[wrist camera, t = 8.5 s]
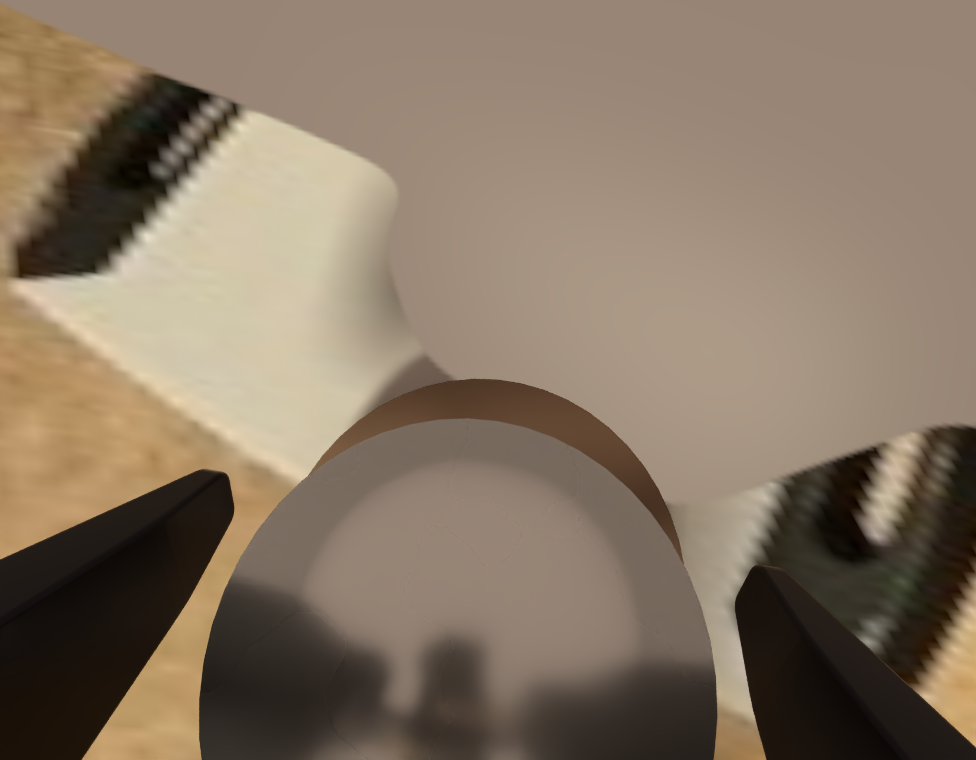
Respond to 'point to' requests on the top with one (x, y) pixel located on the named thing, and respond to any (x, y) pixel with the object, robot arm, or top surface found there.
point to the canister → (459, 613)
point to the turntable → (521, 410)
